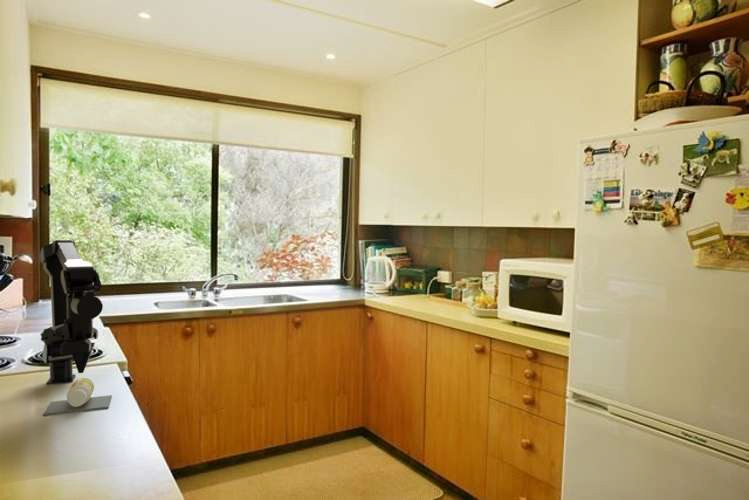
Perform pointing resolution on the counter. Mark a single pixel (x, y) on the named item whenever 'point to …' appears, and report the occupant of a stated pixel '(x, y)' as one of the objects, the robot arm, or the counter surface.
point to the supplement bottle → (80, 392)
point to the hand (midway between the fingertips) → (80, 372)
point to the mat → (65, 407)
